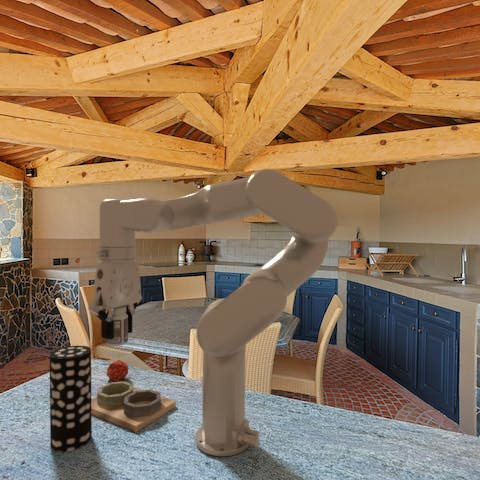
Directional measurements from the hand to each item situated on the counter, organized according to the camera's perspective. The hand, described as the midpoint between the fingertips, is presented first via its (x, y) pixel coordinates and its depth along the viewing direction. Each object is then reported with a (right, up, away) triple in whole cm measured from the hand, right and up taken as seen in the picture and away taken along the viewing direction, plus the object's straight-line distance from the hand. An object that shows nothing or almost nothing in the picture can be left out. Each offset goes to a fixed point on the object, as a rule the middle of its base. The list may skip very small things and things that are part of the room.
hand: (117, 334), depth 81 cm
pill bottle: (0, -2, 0) cm, 2 cm away
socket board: (-1, -23, +13) cm, 27 cm away
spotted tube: (-10, -24, -1) cm, 26 cm away
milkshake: (+20, -23, +16) cm, 34 cm away
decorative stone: (-11, -23, +31) cm, 40 cm away
